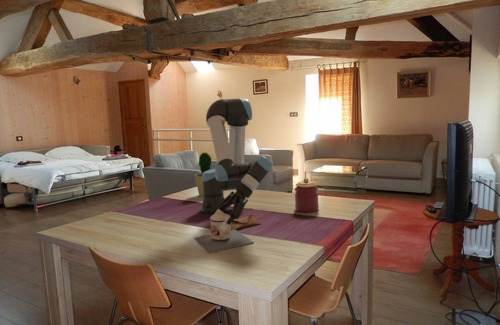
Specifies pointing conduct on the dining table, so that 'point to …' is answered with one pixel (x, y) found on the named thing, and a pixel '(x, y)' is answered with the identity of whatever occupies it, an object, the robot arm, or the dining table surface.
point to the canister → (306, 196)
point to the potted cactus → (204, 166)
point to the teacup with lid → (215, 226)
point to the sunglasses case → (244, 223)
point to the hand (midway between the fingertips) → (216, 225)
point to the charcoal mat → (223, 242)
